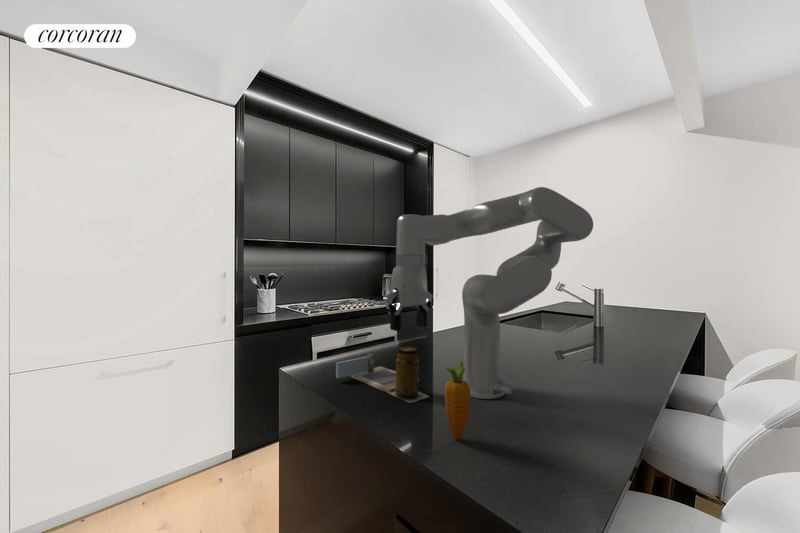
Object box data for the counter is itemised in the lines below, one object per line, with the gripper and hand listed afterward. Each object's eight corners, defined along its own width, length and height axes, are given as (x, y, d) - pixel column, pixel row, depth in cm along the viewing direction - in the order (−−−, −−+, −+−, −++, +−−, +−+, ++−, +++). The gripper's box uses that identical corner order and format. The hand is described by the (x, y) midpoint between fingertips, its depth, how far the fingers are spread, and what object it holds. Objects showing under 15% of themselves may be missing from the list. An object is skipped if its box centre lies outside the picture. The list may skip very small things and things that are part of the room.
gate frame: (419, 382, 97) (419, 361, 97) (388, 393, 88) (388, 370, 88) (380, 368, 109) (381, 350, 109) (350, 376, 101) (350, 357, 101)
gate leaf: (366, 370, 103) (366, 356, 103) (367, 371, 102) (368, 357, 102) (336, 377, 96) (336, 362, 96) (337, 378, 95) (338, 363, 95)
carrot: (452, 448, 62) (454, 367, 62) (439, 435, 66) (440, 360, 66) (475, 443, 64) (476, 364, 64) (460, 431, 68) (461, 358, 68)
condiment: (408, 387, 93) (409, 344, 93) (429, 397, 86) (430, 350, 86) (387, 393, 88) (388, 348, 88) (408, 404, 82) (409, 355, 82)
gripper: (422, 263, 96) (420, 322, 96) (375, 261, 84) (374, 329, 84) (442, 263, 90) (441, 326, 90) (396, 261, 78) (394, 334, 78)
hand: (408, 328), depth 87 cm, fingers open, 9 cm apart
